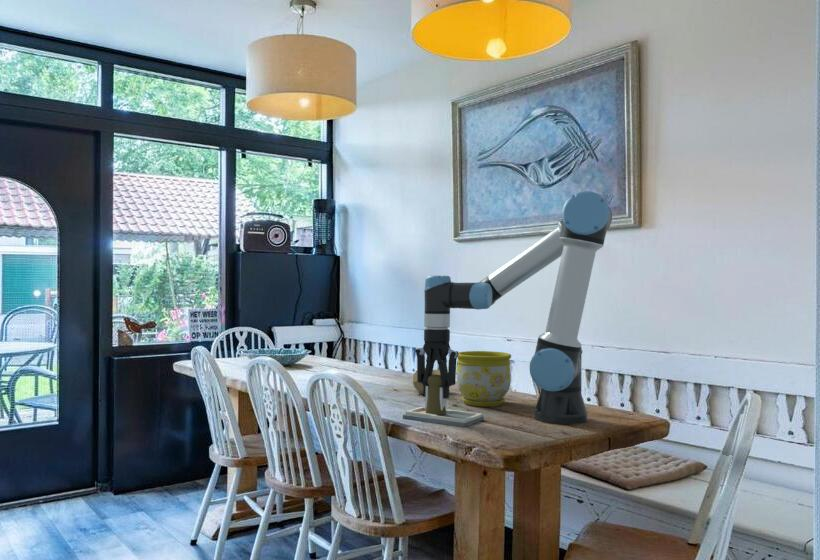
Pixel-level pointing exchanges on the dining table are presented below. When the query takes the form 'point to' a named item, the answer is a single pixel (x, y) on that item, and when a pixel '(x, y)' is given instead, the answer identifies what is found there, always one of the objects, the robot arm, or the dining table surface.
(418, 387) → the low-poly potato
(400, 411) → the dining table surface
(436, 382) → the cork
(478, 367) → the flowerpot
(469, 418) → the grey shallow tray
